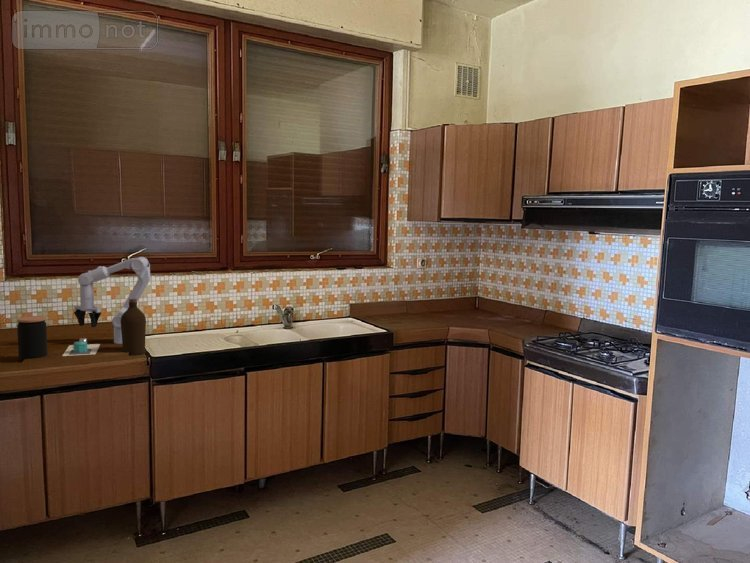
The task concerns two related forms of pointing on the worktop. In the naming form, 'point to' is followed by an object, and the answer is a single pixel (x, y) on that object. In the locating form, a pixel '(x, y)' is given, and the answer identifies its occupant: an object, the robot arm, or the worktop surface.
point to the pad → (81, 352)
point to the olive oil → (133, 329)
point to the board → (89, 346)
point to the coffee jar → (32, 337)
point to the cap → (80, 346)
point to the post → (83, 339)
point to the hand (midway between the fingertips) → (87, 326)
